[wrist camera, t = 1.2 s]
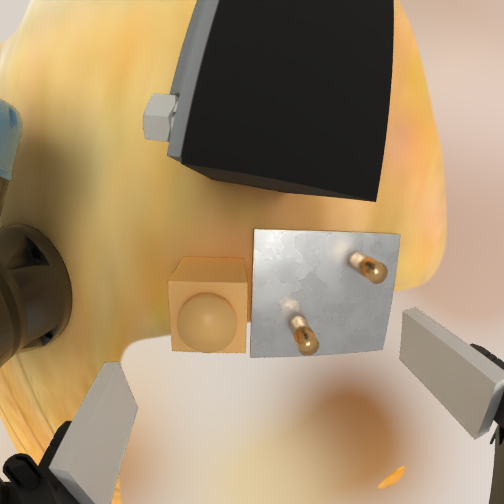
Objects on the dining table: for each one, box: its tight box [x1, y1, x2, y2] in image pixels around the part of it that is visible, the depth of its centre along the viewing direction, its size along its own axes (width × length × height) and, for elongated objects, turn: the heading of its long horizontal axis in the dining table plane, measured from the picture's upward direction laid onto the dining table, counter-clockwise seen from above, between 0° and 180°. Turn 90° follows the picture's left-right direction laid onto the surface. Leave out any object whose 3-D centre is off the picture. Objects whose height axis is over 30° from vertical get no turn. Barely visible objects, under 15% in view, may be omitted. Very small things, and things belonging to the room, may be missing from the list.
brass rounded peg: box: [349, 252, 388, 284], centre depth 29 cm, size 2×2×5 cm
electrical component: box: [143, 0, 394, 202], centre depth 19 cm, size 18×10×20 cm, turn 170°
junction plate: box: [250, 229, 400, 358], centre depth 33 cm, size 16×14×1 cm
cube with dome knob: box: [168, 257, 248, 353], centre depth 27 cm, size 6×6×10 cm
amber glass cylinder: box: [289, 316, 319, 356], centre depth 30 cm, size 2×2×5 cm
